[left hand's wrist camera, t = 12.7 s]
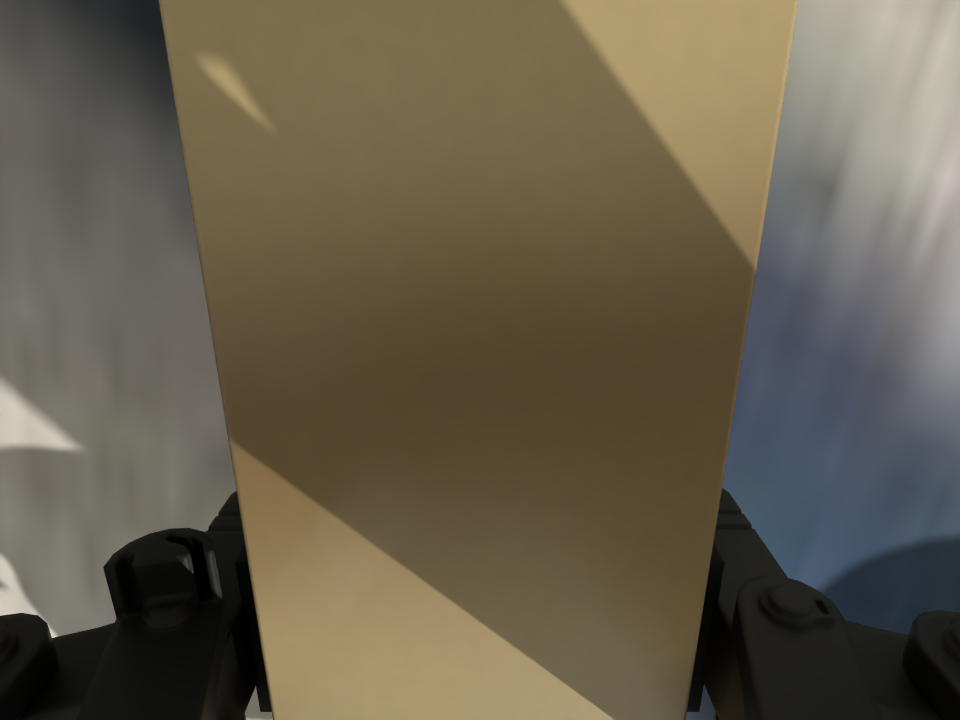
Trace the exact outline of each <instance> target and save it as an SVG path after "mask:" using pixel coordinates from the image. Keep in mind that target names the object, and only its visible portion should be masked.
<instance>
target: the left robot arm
mask: <svg viewBox="0 0 960 720" xmlns="http://www.w3.org/2000/svg"><path fill="white" fill-rule="evenodd" d="M103 568H104V572H105V576H106V579H107V583H108V587H109V591H110V594H111V598H112V602H113V606H114V609H115V613H116V617H117V619H116V621H115V623H112V624H109V625H106V626H102V627H99V628H95V629H90V630H86V631H81V632H77V633H73V634H68V635H64V636H60V637H55V638H52V637H51V634H50V631H49V628H48V625H47V623H46V622H45V621H44V620H43V619H41V618H40V617H39V616H38V615H31V614H25V613H18V614H10V615H3V616H0V720H246V717H245V711H246V708H247V706H248V703H249V701H250V698H251V696H252V693H253V691H254V689H255V686H256V688H257V694H258V700H259V706H260V711H261V712H272V709H271V703H270V697H269V690H268V684H267V678H266V672H265V665H264V659H263V653H262V646H261V640H260V634H259V628H258V621H257V615H256V609H255V602H254V596H253V590H252V584H251V577H250V571H249V565H248V558H247V552H246V546H245V539H244V533H243V527H242V521H241V514H240V508H239V502H238V495H237V491H236V492H234V493H233V494H232V495H230V497H229V498H228V500H227V501H226V503H225V504H224V506H223V507H222V509H221V510H220V511H219V516H216V517H215V519H214V520H213V522H212V523H211V525H210V526H209V530H208V531H206V532H203V531H199V530H195V529H191V528H178V529H167V530H163V531H159V532H155V533H151V534H148V535H146V536H143V537H141V538H139V539H137V540H134V541H132V542H130V543H128V544H127V545H126V546H124V547H123V548H121V549H120V550H119V551H117V552H116V553H114V554H113V555H112V557H111V558H110V559H109V561H108V562H107V563H106V564H105V566H104V567H103ZM704 684H705V686H706V689H707V691H708V694H709V696H710V699H711V701H712V703H713V706H714V708H715V711H716V712H715V717H714V720H960V613H955V612H948V611H940V610H938V611H931V612H925V613H922V614H921V615H919V616H918V617H917V618H916V619H915V620H914V621H913V623H912V626H911V629H910V632H909V636H907V635H903V634H899V633H894V632H890V631H885V630H881V629H877V628H872V627H868V626H864V625H860V624H856V623H853V622H850V621H846V620H844V618H843V616H842V615H841V613H840V612H839V610H838V609H837V607H836V606H835V604H834V603H833V602H832V601H830V600H829V599H828V598H827V597H826V596H824V595H823V594H822V593H821V592H819V591H818V590H816V589H814V588H812V587H810V586H808V585H806V584H804V583H802V582H800V581H797V580H793V579H789V578H788V577H787V576H786V574H785V573H784V571H783V570H782V569H781V567H780V566H779V564H778V563H777V561H776V560H775V558H774V557H773V556H772V554H771V553H770V551H769V550H768V548H767V547H766V545H765V544H764V543H763V541H762V540H761V538H760V537H759V535H758V534H757V532H756V531H755V530H754V529H752V528H751V524H750V522H749V521H748V519H747V518H746V517H745V515H744V514H742V513H741V509H740V508H739V506H738V505H737V504H736V502H735V501H734V499H733V498H732V496H731V495H730V493H728V492H727V491H726V490H724V489H723V488H722V491H721V497H720V503H719V510H718V516H717V522H716V529H715V535H714V541H713V548H712V554H711V560H710V567H709V573H708V579H707V586H706V592H705V598H704V605H703V611H702V618H701V624H700V630H699V637H698V643H697V649H696V656H695V662H694V668H693V675H692V681H691V687H690V694H689V700H688V706H687V712H699V709H700V704H701V698H702V692H703V686H704Z"/></svg>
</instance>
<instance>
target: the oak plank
mask: <svg viewBox="0 0 960 720" xmlns="http://www.w3.org/2000/svg"><path fill="white" fill-rule="evenodd" d="M798 2H799V0H159V5H160V11H161V17H162V24H163V30H164V36H165V43H166V49H167V55H168V61H169V68H170V74H171V80H172V87H173V93H174V99H175V105H176V112H177V118H178V124H179V131H180V137H181V143H182V149H183V156H184V162H185V168H186V175H187V181H188V187H189V194H190V200H191V206H192V212H193V219H194V225H195V231H196V238H197V244H198V250H199V256H200V263H201V269H202V275H203V282H204V288H205V294H206V300H207V307H208V313H209V319H210V326H211V332H212V338H213V344H214V351H215V357H216V363H217V370H218V376H219V382H220V389H221V395H222V401H223V407H224V414H225V420H226V426H227V433H228V439H229V445H230V451H231V458H232V464H233V470H234V477H235V483H236V489H237V495H238V502H239V508H240V514H241V521H242V527H243V533H244V539H245V546H246V552H247V558H248V565H249V571H250V577H251V584H252V590H253V596H254V602H255V609H256V615H257V621H258V628H259V634H260V640H261V646H262V653H263V659H264V665H265V672H266V678H267V684H268V690H269V697H270V703H271V709H272V716H273V720H685V719H686V713H687V706H688V700H689V694H690V687H691V681H692V675H693V668H694V662H695V656H696V649H697V643H698V637H699V630H700V624H701V618H702V611H703V605H704V598H705V592H706V586H707V579H708V573H709V567H710V560H711V554H712V548H713V541H714V535H715V529H716V522H717V516H718V510H719V503H720V497H721V491H722V484H723V478H724V472H725V465H726V459H727V453H728V446H729V440H730V433H731V427H732V421H733V414H734V408H735V402H736V395H737V389H738V383H739V376H740V370H741V364H742V357H743V351H744V345H745V338H746V332H747V326H748V319H749V313H750V307H751V300H752V294H753V287H754V281H755V275H756V268H757V262H758V256H759V249H760V243H761V237H762V230H763V224H764V218H765V211H766V205H767V199H768V192H769V186H770V180H771V173H772V167H773V161H774V154H775V148H776V141H777V135H778V129H779V122H780V116H781V110H782V103H783V97H784V91H785V84H786V78H787V72H788V65H789V59H790V53H791V46H792V40H793V34H794V27H795V21H796V15H797V8H798Z"/></svg>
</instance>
